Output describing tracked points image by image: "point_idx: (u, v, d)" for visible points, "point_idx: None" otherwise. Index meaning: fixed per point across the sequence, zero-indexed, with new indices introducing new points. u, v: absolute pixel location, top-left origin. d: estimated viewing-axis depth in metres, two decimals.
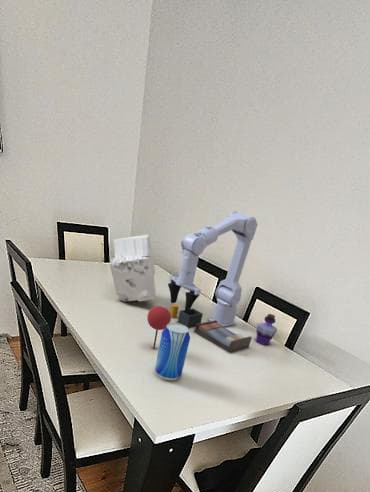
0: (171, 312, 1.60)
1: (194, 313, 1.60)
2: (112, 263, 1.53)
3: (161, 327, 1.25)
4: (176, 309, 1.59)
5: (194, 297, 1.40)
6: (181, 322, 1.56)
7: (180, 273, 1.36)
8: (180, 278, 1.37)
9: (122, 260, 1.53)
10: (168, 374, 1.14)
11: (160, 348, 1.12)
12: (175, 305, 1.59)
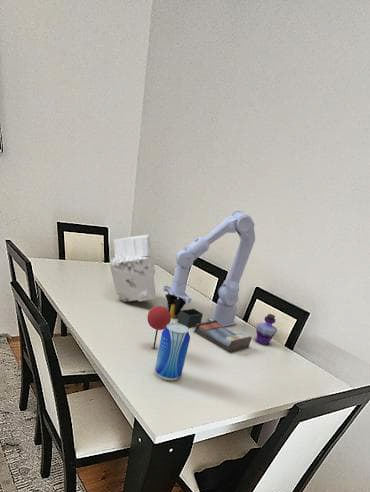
0: (171, 312, 1.60)
1: (194, 313, 1.60)
2: (112, 263, 1.53)
3: (161, 327, 1.25)
4: None
5: (182, 303, 1.57)
6: (181, 322, 1.56)
7: (173, 284, 1.53)
8: (173, 288, 1.53)
9: (122, 260, 1.53)
10: (168, 374, 1.14)
11: (160, 348, 1.12)
12: None
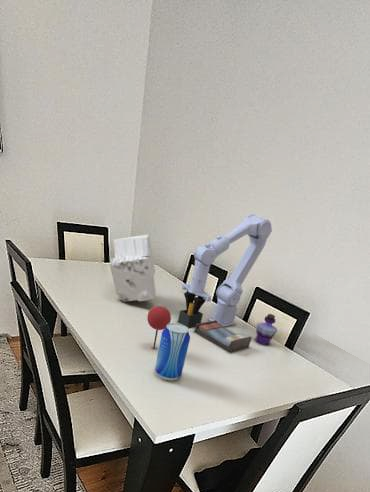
0: (189, 311, 1.55)
1: None
2: (112, 263, 1.53)
3: (161, 327, 1.25)
4: None
5: (201, 302, 1.53)
6: (181, 322, 1.56)
7: (192, 282, 1.48)
8: (192, 286, 1.49)
9: (122, 260, 1.53)
10: (168, 374, 1.14)
11: (160, 348, 1.12)
12: None
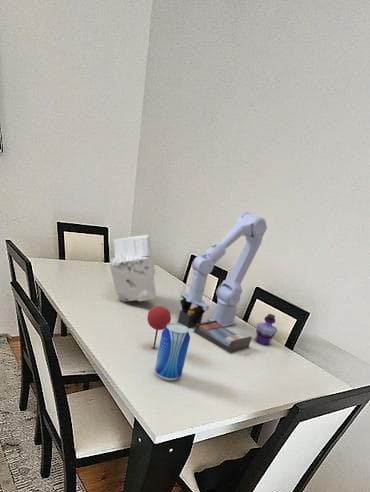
0: None
1: None
2: (112, 263, 1.53)
3: (161, 327, 1.25)
4: None
5: (201, 311, 1.54)
6: (181, 322, 1.56)
7: (190, 291, 1.50)
8: (190, 295, 1.51)
9: (122, 260, 1.53)
10: (168, 374, 1.14)
11: (160, 348, 1.12)
12: (192, 311, 1.56)
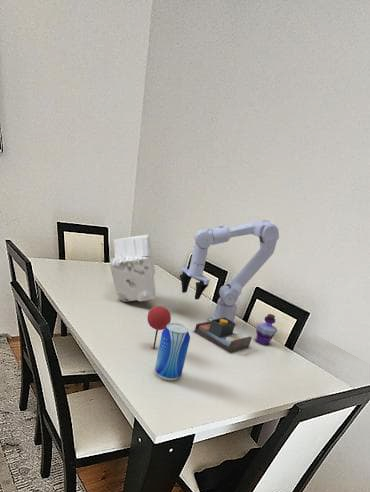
0: None
1: None
2: (112, 263, 1.53)
3: (161, 327, 1.25)
4: None
5: (203, 287, 1.55)
6: (213, 332, 1.47)
7: (191, 265, 1.52)
8: (191, 269, 1.52)
9: (122, 260, 1.53)
10: (168, 374, 1.14)
11: (160, 348, 1.12)
12: (224, 321, 1.47)
